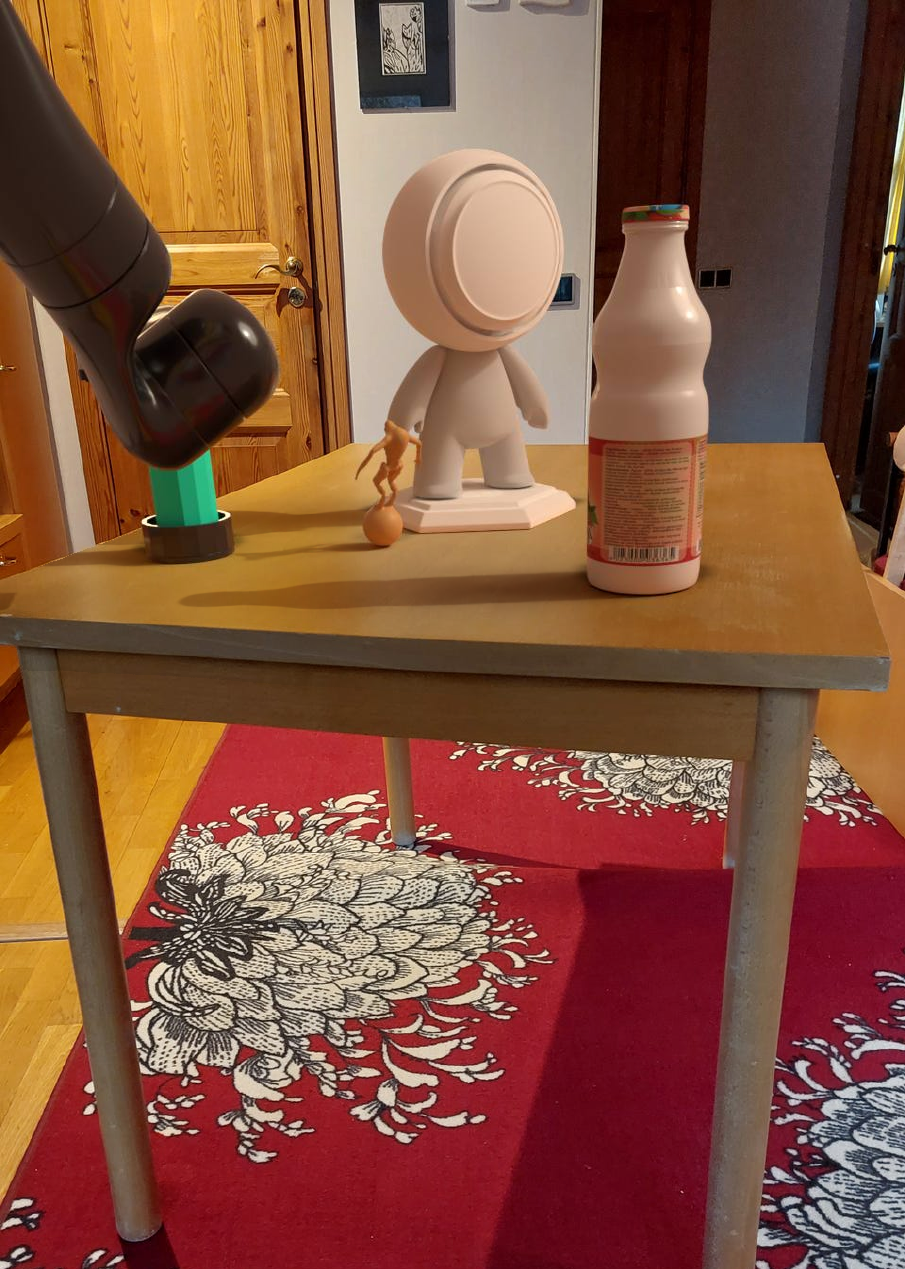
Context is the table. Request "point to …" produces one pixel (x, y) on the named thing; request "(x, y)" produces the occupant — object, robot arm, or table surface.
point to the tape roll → (188, 540)
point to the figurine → (382, 518)
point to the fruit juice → (648, 414)
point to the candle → (185, 494)
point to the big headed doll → (473, 337)
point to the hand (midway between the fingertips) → (165, 351)
